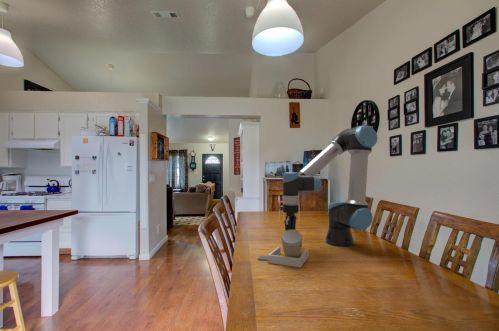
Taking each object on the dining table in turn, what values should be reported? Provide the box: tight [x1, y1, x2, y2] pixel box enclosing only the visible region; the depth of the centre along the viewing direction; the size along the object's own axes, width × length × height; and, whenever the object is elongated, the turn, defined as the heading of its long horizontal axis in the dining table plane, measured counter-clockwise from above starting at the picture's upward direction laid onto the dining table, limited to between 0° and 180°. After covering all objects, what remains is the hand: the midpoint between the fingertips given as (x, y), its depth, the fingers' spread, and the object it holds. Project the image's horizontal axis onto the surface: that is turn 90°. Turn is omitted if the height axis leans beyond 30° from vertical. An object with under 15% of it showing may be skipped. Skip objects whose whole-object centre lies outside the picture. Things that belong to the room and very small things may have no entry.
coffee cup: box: [280, 229, 303, 258], centre depth 125 cm, size 9×9×12 cm
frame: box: [267, 246, 309, 268], centre depth 127 cm, size 15×15×4 cm
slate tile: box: [257, 255, 268, 262], centre depth 129 cm, size 5×5×1 cm
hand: (290, 252), depth 132 cm, fingers closed
